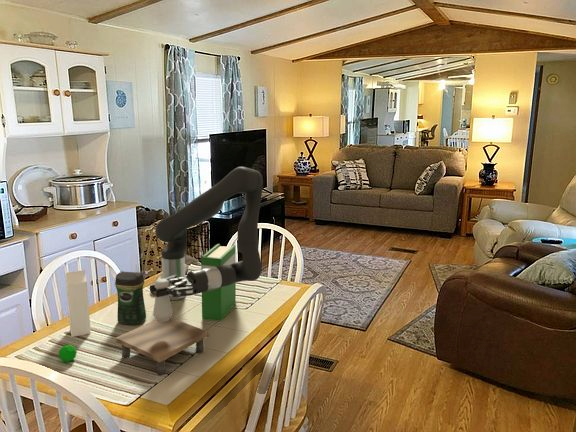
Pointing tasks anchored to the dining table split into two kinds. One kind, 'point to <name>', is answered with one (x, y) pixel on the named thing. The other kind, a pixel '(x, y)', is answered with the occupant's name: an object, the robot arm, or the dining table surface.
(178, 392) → the dining table surface
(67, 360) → the polyhedron
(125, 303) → the coffee jar
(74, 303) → the milk
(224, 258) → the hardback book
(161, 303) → the salt shaker
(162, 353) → the small wooden table
